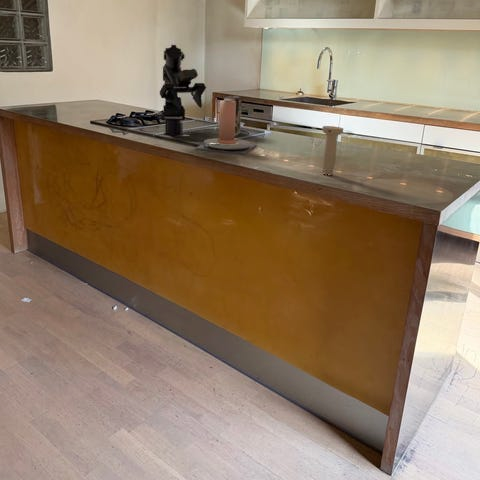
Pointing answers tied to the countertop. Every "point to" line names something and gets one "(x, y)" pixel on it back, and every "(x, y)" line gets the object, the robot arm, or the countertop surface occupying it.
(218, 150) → the base
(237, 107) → the coffee box
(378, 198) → the countertop surface
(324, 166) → the handle
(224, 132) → the pink tall cylinder
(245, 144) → the turntable disk
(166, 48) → the robot arm
